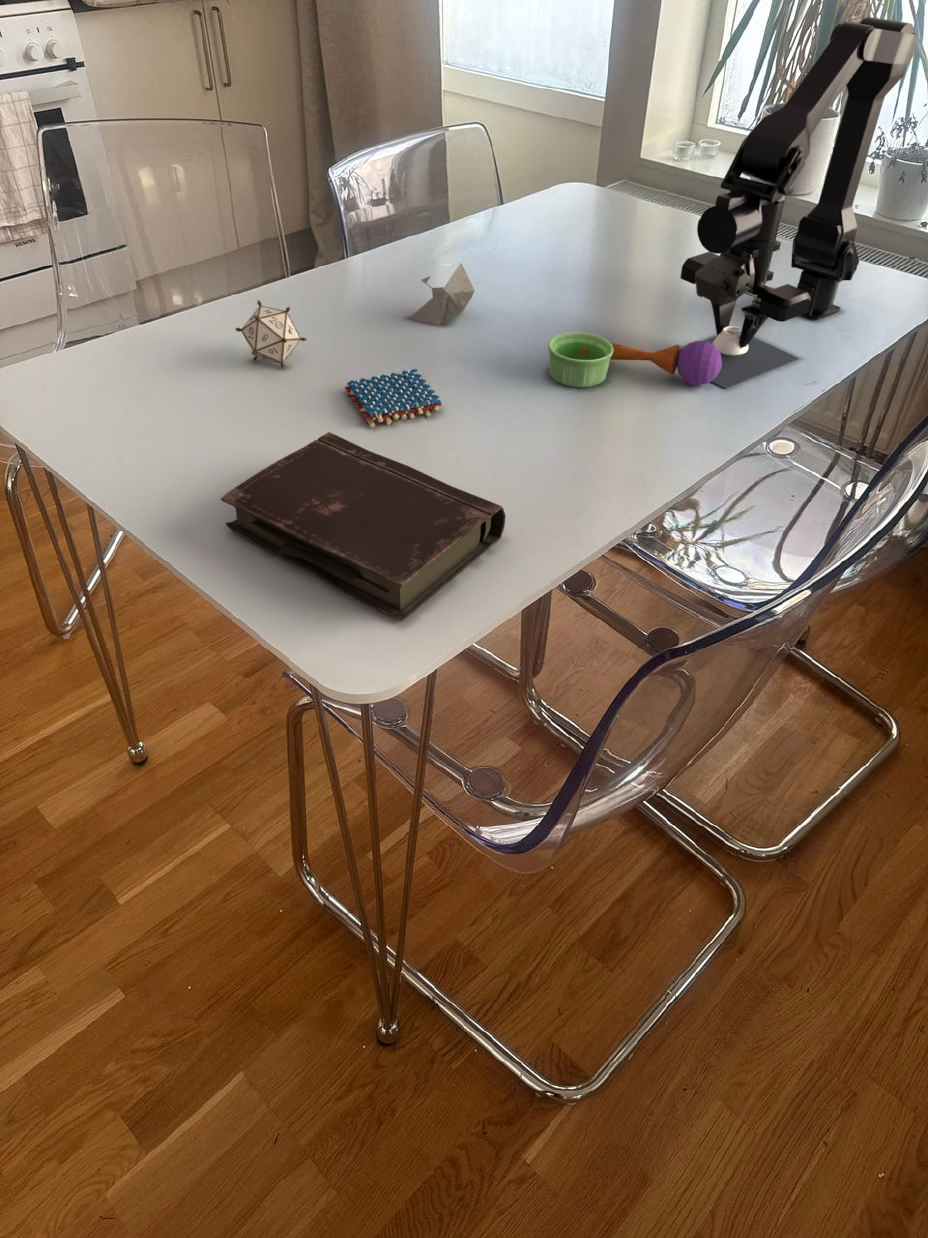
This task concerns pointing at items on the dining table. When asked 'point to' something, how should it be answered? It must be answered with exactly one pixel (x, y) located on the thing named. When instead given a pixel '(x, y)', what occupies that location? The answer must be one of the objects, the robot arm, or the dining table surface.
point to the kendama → (677, 360)
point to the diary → (365, 523)
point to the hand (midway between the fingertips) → (731, 343)
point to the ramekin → (579, 359)
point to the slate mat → (749, 363)
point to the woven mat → (392, 396)
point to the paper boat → (446, 299)
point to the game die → (271, 334)
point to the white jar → (729, 341)
